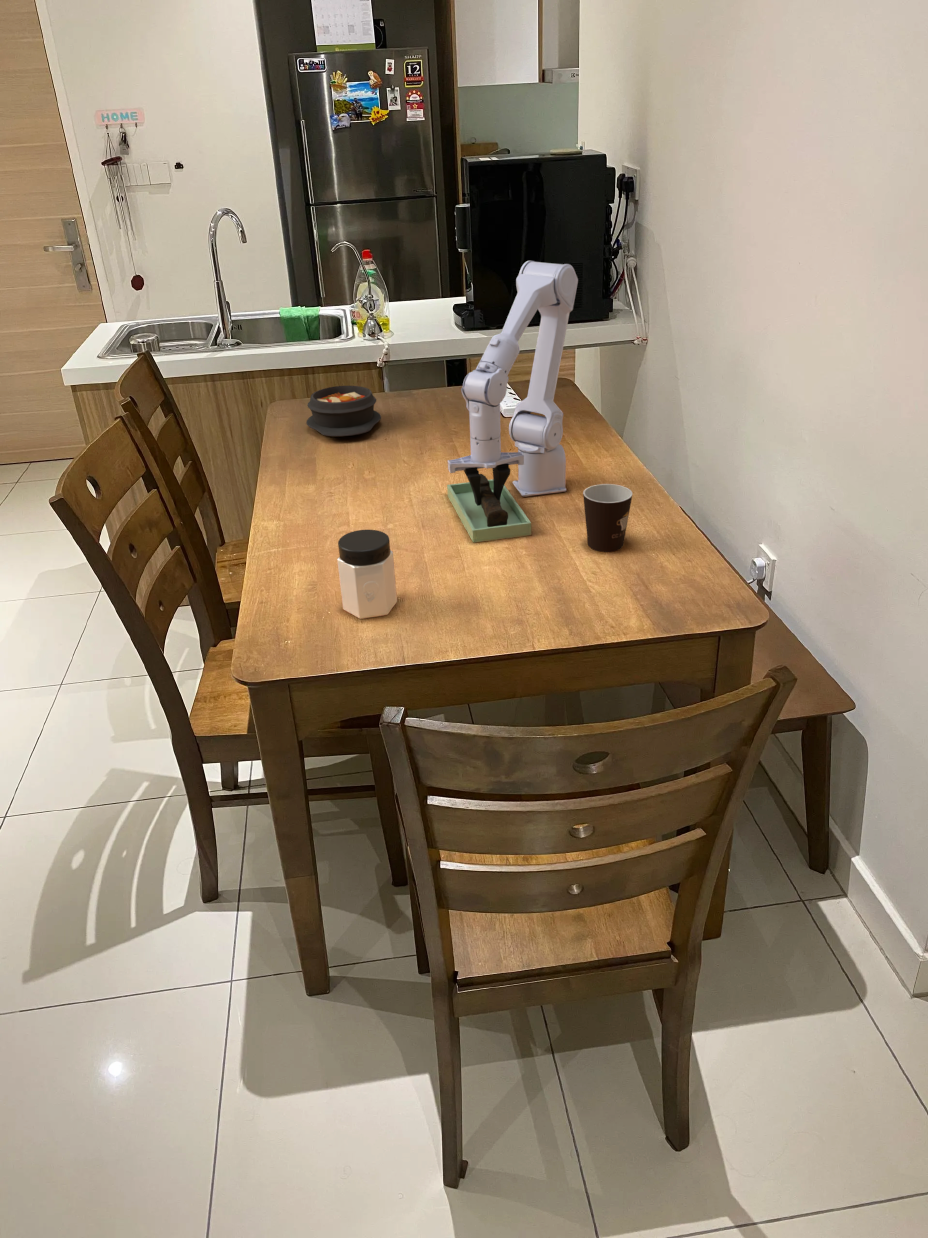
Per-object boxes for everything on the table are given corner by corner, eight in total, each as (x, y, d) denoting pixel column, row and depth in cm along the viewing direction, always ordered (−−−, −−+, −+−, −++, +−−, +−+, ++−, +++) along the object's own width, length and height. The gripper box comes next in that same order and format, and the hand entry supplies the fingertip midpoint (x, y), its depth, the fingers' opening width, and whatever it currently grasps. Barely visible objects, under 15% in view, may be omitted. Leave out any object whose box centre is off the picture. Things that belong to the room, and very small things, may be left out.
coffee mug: (599, 558, 165) (601, 506, 160) (572, 541, 171) (573, 490, 166) (652, 543, 169) (656, 492, 164) (624, 526, 176) (627, 477, 171)
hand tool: (508, 529, 174) (508, 506, 172) (487, 531, 174) (486, 508, 171) (492, 490, 190) (491, 469, 188) (473, 492, 190) (472, 471, 188)
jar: (346, 622, 149) (338, 554, 143) (340, 598, 156) (332, 533, 150) (401, 614, 150) (395, 547, 144) (393, 590, 157) (387, 525, 151)
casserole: (386, 439, 223) (384, 405, 219) (308, 447, 221) (304, 412, 217) (376, 408, 245) (374, 376, 240) (305, 415, 242) (301, 383, 238)
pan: (500, 489, 194) (500, 478, 193) (531, 535, 174) (531, 522, 173) (447, 495, 192) (447, 484, 191) (473, 542, 172) (472, 530, 171)
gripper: (452, 446, 170) (455, 514, 177) (528, 437, 173) (528, 505, 180) (444, 434, 176) (447, 500, 183) (518, 426, 179) (518, 492, 186)
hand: (487, 502), depth 182 cm, fingers closed on hand tool, 3 cm apart
